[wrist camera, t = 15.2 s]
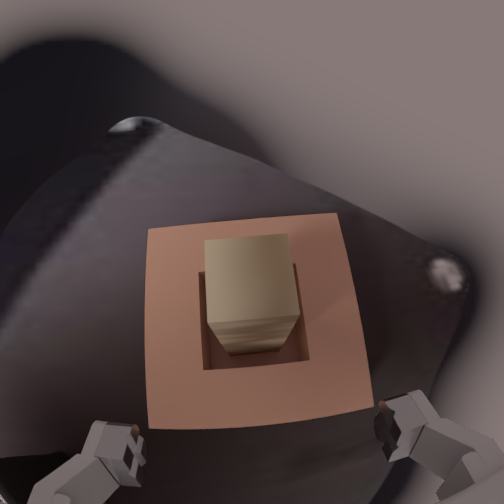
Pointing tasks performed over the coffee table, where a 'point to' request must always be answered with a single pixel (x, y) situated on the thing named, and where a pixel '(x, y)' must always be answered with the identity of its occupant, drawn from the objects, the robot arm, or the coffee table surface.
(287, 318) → the maple pin
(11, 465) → the battery charger
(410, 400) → the robot arm
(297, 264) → the terracotta socket block
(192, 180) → the coffee table surface
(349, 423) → the coffee table surface
